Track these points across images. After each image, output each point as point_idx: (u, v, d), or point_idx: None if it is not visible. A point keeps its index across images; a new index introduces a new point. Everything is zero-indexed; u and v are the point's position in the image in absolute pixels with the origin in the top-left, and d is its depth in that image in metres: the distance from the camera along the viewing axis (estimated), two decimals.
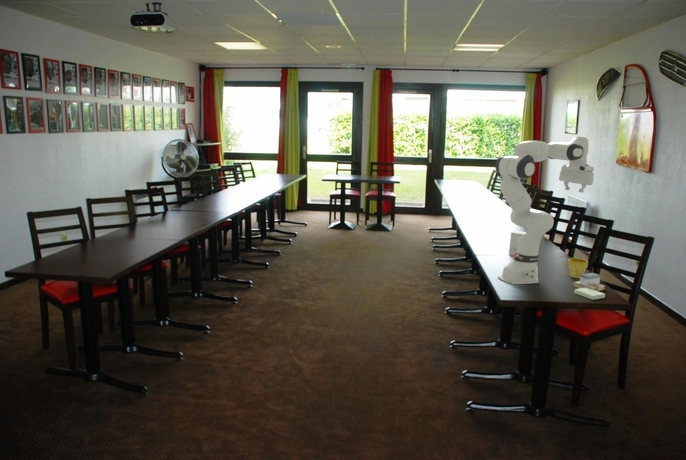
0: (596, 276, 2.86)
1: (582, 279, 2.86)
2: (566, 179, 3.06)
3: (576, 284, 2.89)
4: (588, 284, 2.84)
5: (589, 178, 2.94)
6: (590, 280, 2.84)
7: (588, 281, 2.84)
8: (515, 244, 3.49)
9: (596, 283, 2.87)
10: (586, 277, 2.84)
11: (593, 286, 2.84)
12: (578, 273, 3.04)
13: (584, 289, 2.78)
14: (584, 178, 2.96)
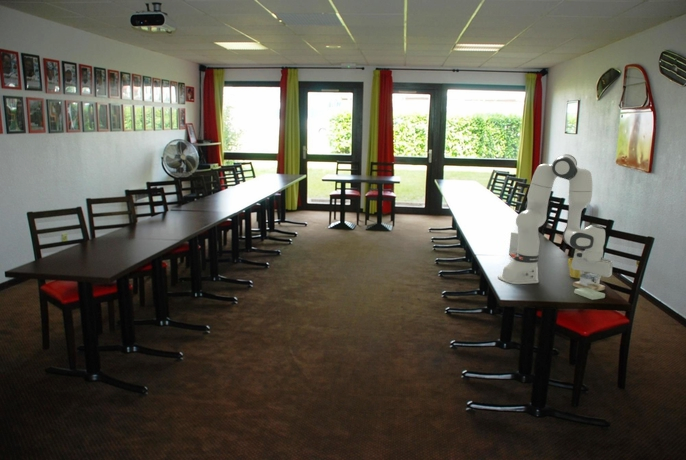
0: (596, 276, 2.86)
1: (582, 279, 2.86)
2: None
3: (576, 284, 2.89)
4: (588, 284, 2.84)
5: None
6: (590, 280, 2.84)
7: (588, 281, 2.84)
8: (515, 244, 3.49)
9: (596, 283, 2.87)
10: (586, 277, 2.84)
11: (593, 286, 2.84)
12: (578, 273, 3.04)
13: (584, 289, 2.78)
14: None
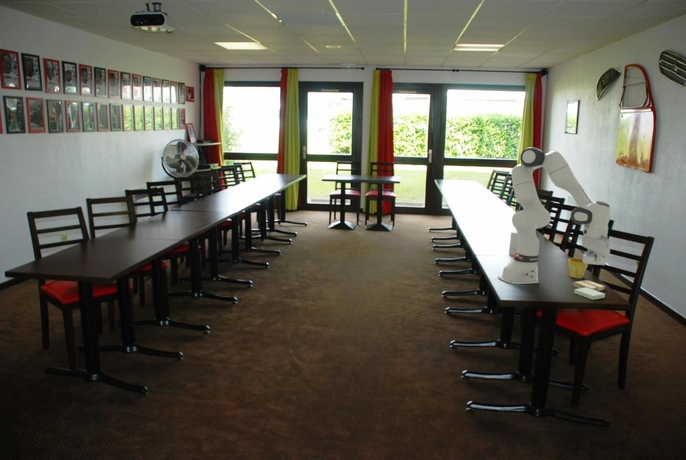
0: None
1: (583, 256, 2.79)
2: None
3: (576, 284, 2.89)
4: (587, 262, 2.76)
5: None
6: (590, 258, 2.76)
7: (587, 258, 2.76)
8: (515, 244, 3.49)
9: (600, 263, 2.75)
10: (585, 254, 2.77)
11: (593, 286, 2.84)
12: (578, 273, 3.04)
13: (584, 289, 2.78)
14: None
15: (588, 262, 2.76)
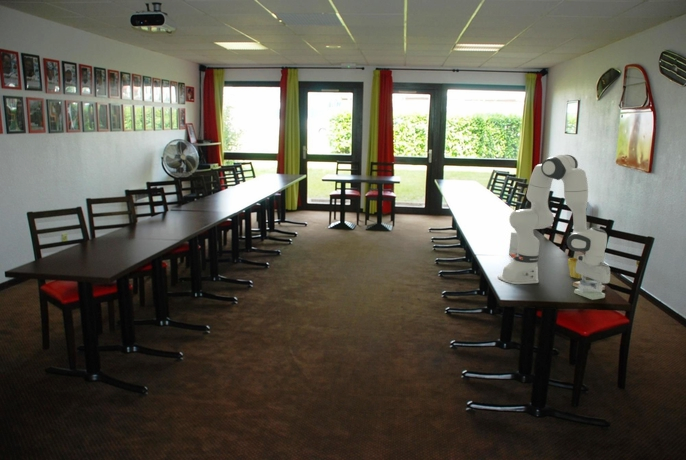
0: None
1: (580, 285, 2.75)
2: None
3: (576, 284, 2.89)
4: (585, 291, 2.73)
5: None
6: (588, 287, 2.72)
7: (585, 287, 2.72)
8: (515, 244, 3.49)
9: (597, 291, 2.73)
10: (583, 283, 2.73)
11: None
12: (578, 273, 3.04)
13: None
14: None
15: (586, 291, 2.73)
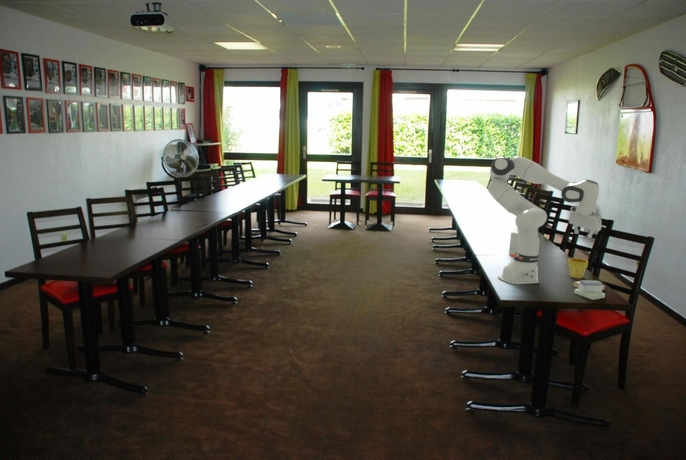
0: (597, 284, 2.73)
1: (580, 285, 2.75)
2: None
3: (576, 284, 2.89)
4: (585, 291, 2.73)
5: None
6: (588, 287, 2.72)
7: (585, 287, 2.72)
8: (515, 244, 3.49)
9: (597, 291, 2.73)
10: (583, 283, 2.73)
11: None
12: (578, 273, 3.04)
13: None
14: None
15: (586, 291, 2.73)
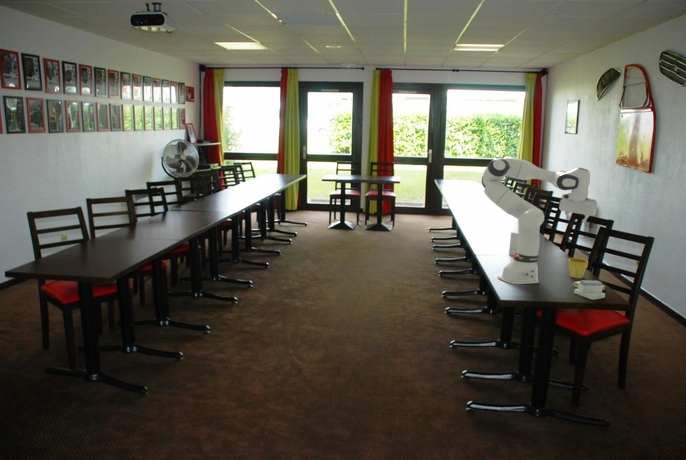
0: (597, 284, 2.73)
1: (580, 285, 2.75)
2: None
3: (576, 284, 2.89)
4: (585, 291, 2.73)
5: None
6: (588, 287, 2.72)
7: (585, 287, 2.72)
8: (515, 244, 3.49)
9: (597, 291, 2.73)
10: (583, 283, 2.73)
11: None
12: (578, 273, 3.04)
13: None
14: None
15: (586, 291, 2.73)
